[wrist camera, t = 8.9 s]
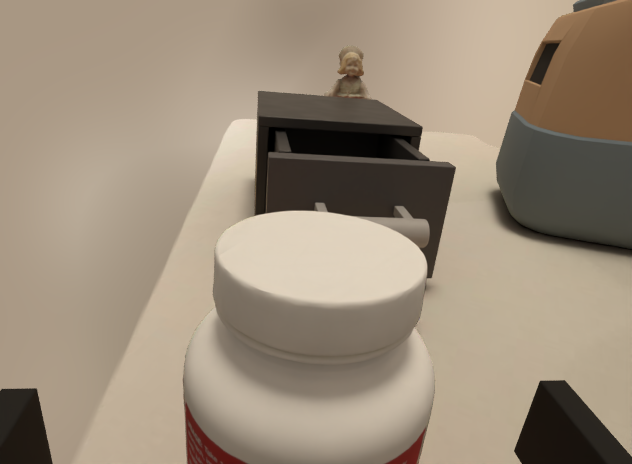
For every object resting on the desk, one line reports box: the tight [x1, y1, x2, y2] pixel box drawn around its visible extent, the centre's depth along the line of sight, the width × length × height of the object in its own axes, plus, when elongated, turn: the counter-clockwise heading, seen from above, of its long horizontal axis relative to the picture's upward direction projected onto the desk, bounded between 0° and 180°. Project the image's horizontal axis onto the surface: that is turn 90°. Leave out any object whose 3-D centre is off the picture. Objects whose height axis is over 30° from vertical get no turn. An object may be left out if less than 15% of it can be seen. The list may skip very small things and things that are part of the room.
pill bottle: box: [183, 211, 435, 464], centre depth 12 cm, size 6×6×11 cm
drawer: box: [266, 127, 456, 278], centre depth 32 cm, size 18×11×8 cm, turn 7°
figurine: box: [324, 46, 371, 100], centre depth 62 cm, size 11×10×15 cm
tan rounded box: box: [496, 0, 632, 249], centre depth 42 cm, size 17×17×23 cm
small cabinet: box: [255, 91, 422, 216], centre depth 42 cm, size 15×13×10 cm
